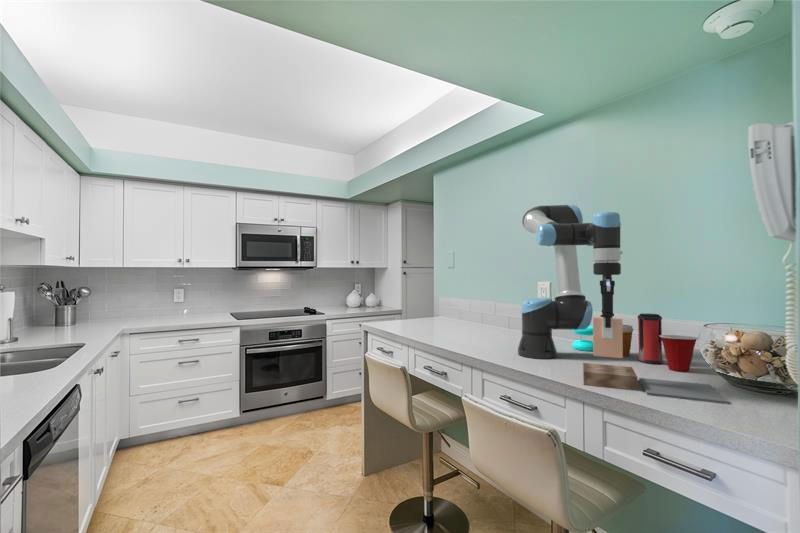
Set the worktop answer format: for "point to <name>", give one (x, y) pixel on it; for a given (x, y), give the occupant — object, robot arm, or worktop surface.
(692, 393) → the mat
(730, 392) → the worktop surface
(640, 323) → the speaker
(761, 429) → the worktop surface
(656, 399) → the worktop surface
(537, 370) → the worktop surface
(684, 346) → the plastic cup
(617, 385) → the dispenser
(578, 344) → the turquoise double disc piece
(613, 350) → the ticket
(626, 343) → the disposable coffee cup
